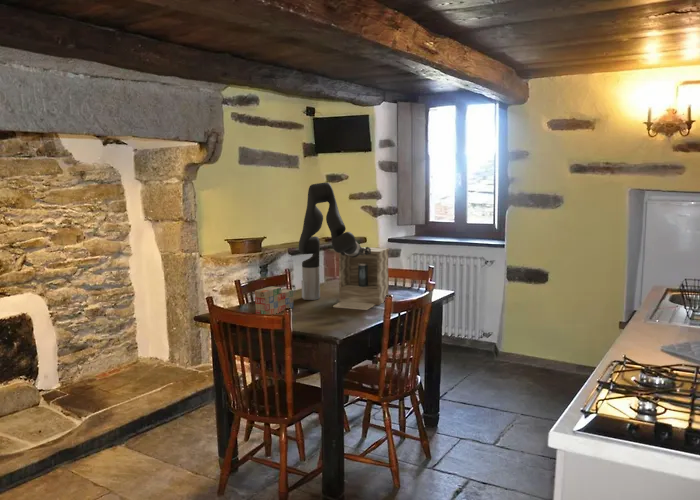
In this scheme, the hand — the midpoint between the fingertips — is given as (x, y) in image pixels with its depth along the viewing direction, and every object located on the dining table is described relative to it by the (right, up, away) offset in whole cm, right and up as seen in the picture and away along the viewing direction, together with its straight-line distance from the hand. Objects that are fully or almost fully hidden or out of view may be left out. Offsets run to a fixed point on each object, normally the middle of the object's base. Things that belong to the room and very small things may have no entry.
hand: (358, 253), depth 283 cm
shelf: (+3, -25, +16) cm, 30 cm away
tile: (-2, -26, +3) cm, 27 cm away
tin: (+3, -17, +14) cm, 22 cm away
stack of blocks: (-41, -28, -6) cm, 50 cm away
